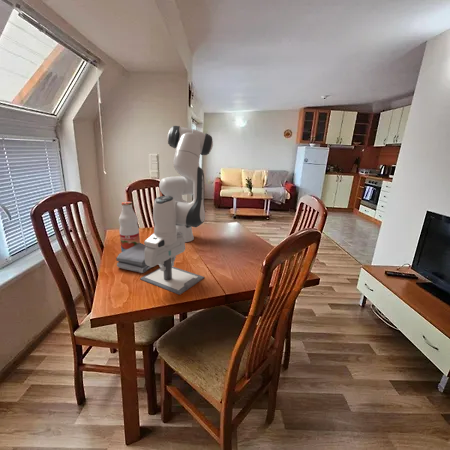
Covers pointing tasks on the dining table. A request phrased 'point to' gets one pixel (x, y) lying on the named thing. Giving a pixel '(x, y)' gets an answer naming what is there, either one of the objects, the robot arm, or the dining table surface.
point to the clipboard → (173, 280)
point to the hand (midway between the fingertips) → (167, 268)
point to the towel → (133, 259)
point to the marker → (168, 268)
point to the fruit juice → (128, 227)
